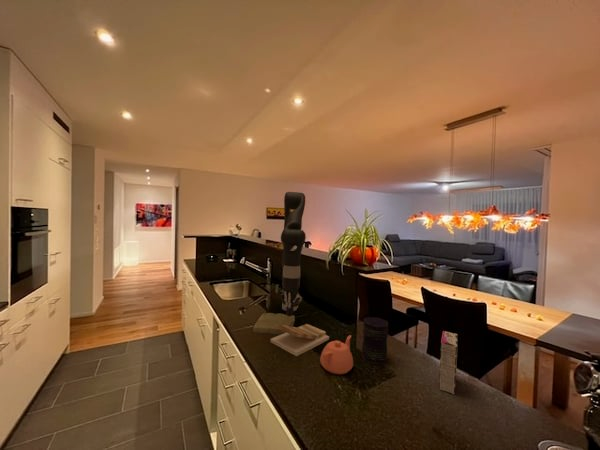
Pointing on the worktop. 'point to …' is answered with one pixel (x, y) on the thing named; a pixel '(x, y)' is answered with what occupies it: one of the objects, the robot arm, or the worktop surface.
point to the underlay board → (297, 343)
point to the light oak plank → (313, 330)
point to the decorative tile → (273, 323)
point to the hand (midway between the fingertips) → (289, 315)
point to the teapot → (337, 357)
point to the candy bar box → (448, 362)
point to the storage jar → (375, 340)
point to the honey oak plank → (295, 331)
